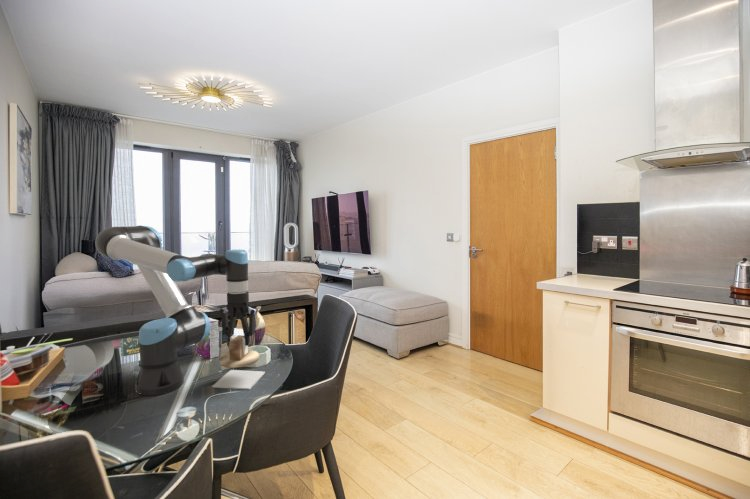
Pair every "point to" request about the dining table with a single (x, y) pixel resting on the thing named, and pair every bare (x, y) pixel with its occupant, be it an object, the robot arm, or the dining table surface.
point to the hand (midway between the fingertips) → (239, 353)
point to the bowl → (261, 355)
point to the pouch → (258, 329)
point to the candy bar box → (209, 342)
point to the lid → (238, 355)
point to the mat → (239, 379)
